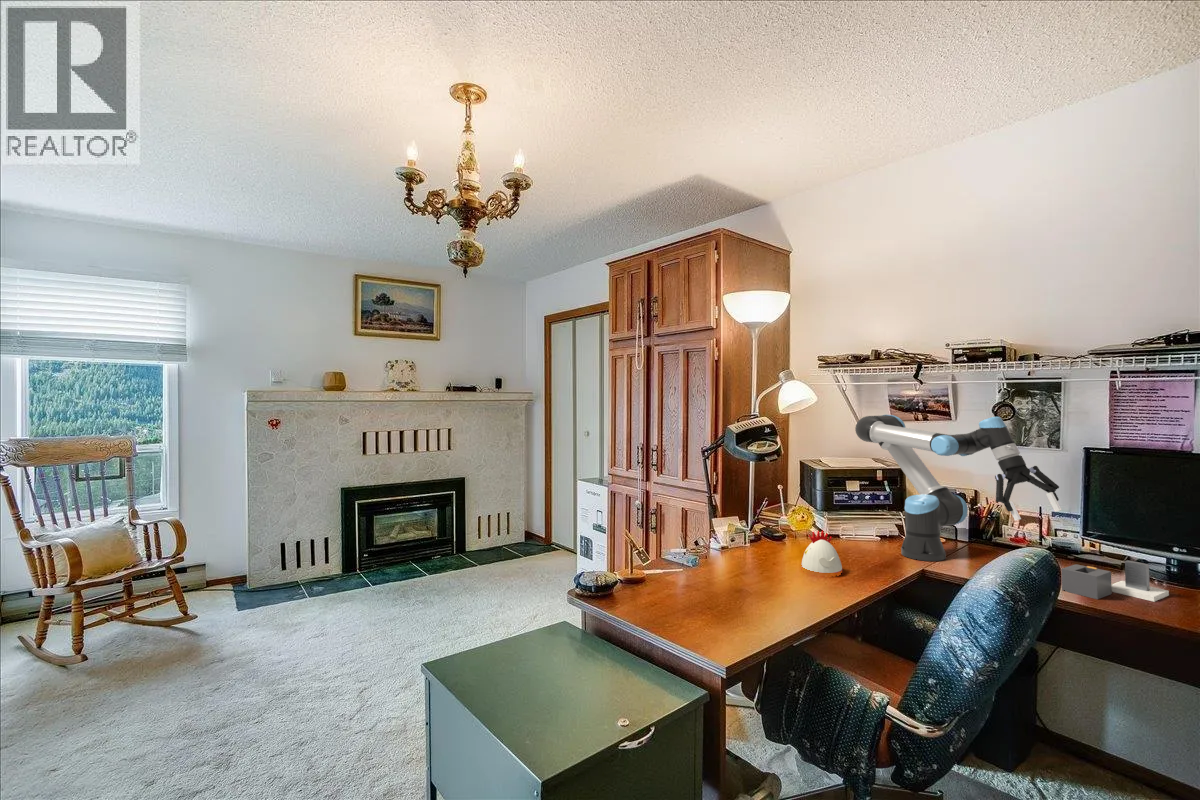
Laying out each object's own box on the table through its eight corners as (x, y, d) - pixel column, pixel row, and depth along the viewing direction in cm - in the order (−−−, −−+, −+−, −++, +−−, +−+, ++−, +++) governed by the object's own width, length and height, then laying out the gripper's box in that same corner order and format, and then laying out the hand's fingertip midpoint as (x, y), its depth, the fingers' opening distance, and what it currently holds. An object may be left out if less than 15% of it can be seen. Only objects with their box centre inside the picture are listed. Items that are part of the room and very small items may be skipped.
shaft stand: (1107, 590, 173) (1106, 560, 173) (1122, 585, 178) (1121, 555, 178) (1154, 601, 164) (1153, 570, 163) (1168, 595, 168) (1167, 564, 168)
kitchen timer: (796, 566, 207) (795, 526, 207) (832, 565, 207) (831, 525, 207) (810, 578, 194) (808, 536, 194) (848, 577, 193) (847, 535, 193)
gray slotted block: (1062, 590, 175) (1061, 567, 175) (1076, 585, 179) (1075, 563, 179) (1097, 599, 167) (1096, 575, 167) (1111, 593, 170) (1111, 570, 170)
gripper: (978, 463, 195) (1006, 521, 187) (1050, 447, 193) (1082, 505, 185) (969, 468, 202) (995, 525, 194) (1038, 452, 200) (1068, 509, 192)
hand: (1038, 515), depth 190 cm, fingers open, 13 cm apart
